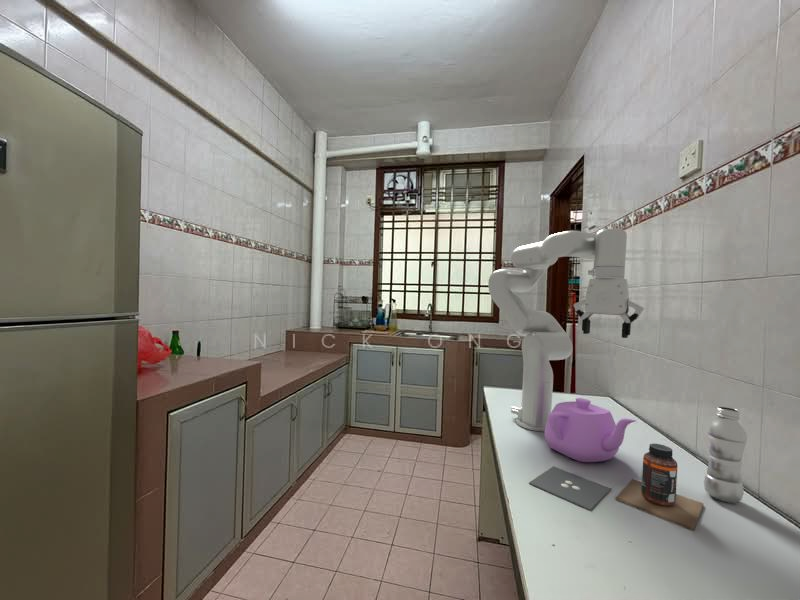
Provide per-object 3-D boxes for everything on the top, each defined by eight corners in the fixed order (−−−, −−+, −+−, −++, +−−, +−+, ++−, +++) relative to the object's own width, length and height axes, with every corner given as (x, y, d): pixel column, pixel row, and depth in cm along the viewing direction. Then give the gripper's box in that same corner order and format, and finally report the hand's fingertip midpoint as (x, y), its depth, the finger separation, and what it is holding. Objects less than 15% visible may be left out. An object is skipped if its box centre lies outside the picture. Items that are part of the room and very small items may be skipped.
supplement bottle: (681, 510, 72) (685, 454, 72) (649, 505, 74) (652, 450, 74) (665, 494, 78) (669, 443, 78) (635, 490, 79) (639, 439, 79)
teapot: (524, 446, 102) (527, 394, 102) (575, 438, 111) (578, 389, 111) (598, 486, 81) (602, 420, 81) (653, 472, 90) (657, 413, 90)
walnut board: (615, 499, 76) (615, 497, 76) (632, 480, 85) (632, 478, 85) (693, 530, 66) (693, 528, 66) (703, 505, 75) (703, 503, 75)
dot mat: (528, 483, 81) (529, 482, 81) (553, 467, 90) (553, 466, 90) (590, 510, 71) (590, 509, 71) (611, 489, 80) (611, 488, 80)
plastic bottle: (695, 490, 82) (700, 404, 82) (722, 491, 82) (727, 405, 82) (723, 507, 75) (728, 413, 75) (752, 507, 76) (757, 414, 76)
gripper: (571, 273, 102) (567, 332, 103) (641, 272, 90) (637, 340, 90) (580, 275, 108) (577, 331, 108) (649, 275, 95) (645, 338, 95)
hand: (604, 335), depth 99 cm, fingers open, 9 cm apart
